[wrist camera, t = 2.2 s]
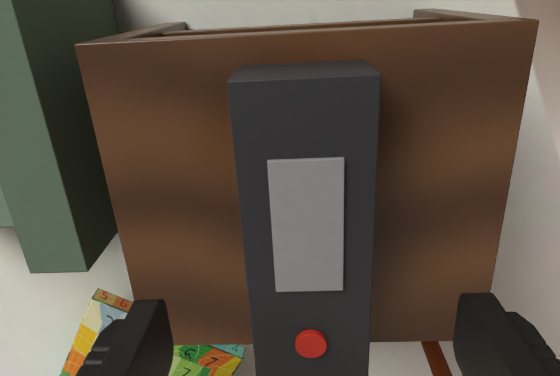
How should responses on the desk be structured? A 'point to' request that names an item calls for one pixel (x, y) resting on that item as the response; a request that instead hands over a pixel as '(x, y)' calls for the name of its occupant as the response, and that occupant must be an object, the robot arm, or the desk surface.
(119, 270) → the desk surface
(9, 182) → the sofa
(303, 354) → the remote
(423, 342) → the magnifying glass
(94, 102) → the shelf
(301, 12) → the desk surface
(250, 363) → the desk surface
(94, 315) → the puzzle game
